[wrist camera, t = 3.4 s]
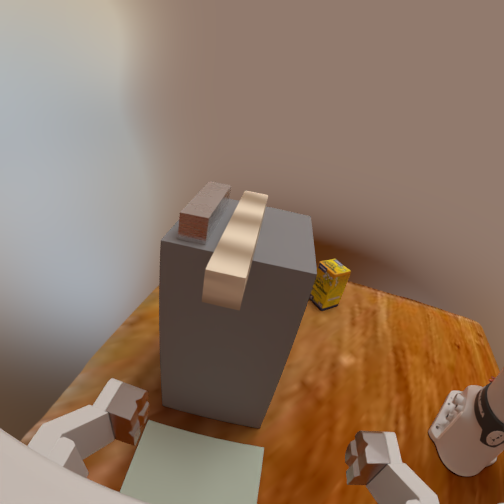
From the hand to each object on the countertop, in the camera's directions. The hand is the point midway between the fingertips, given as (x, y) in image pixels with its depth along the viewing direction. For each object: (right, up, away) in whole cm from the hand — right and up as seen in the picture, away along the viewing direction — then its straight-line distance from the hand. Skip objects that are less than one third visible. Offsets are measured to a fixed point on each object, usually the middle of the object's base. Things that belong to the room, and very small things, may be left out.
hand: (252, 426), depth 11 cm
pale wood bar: (-6, +10, +27) cm, 29 cm away
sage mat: (-9, -29, +17) cm, 35 cm away
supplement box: (+18, -7, +69) cm, 72 cm away
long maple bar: (-1, +7, +23) cm, 24 cm away
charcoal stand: (-6, -16, +42) cm, 45 cm away
